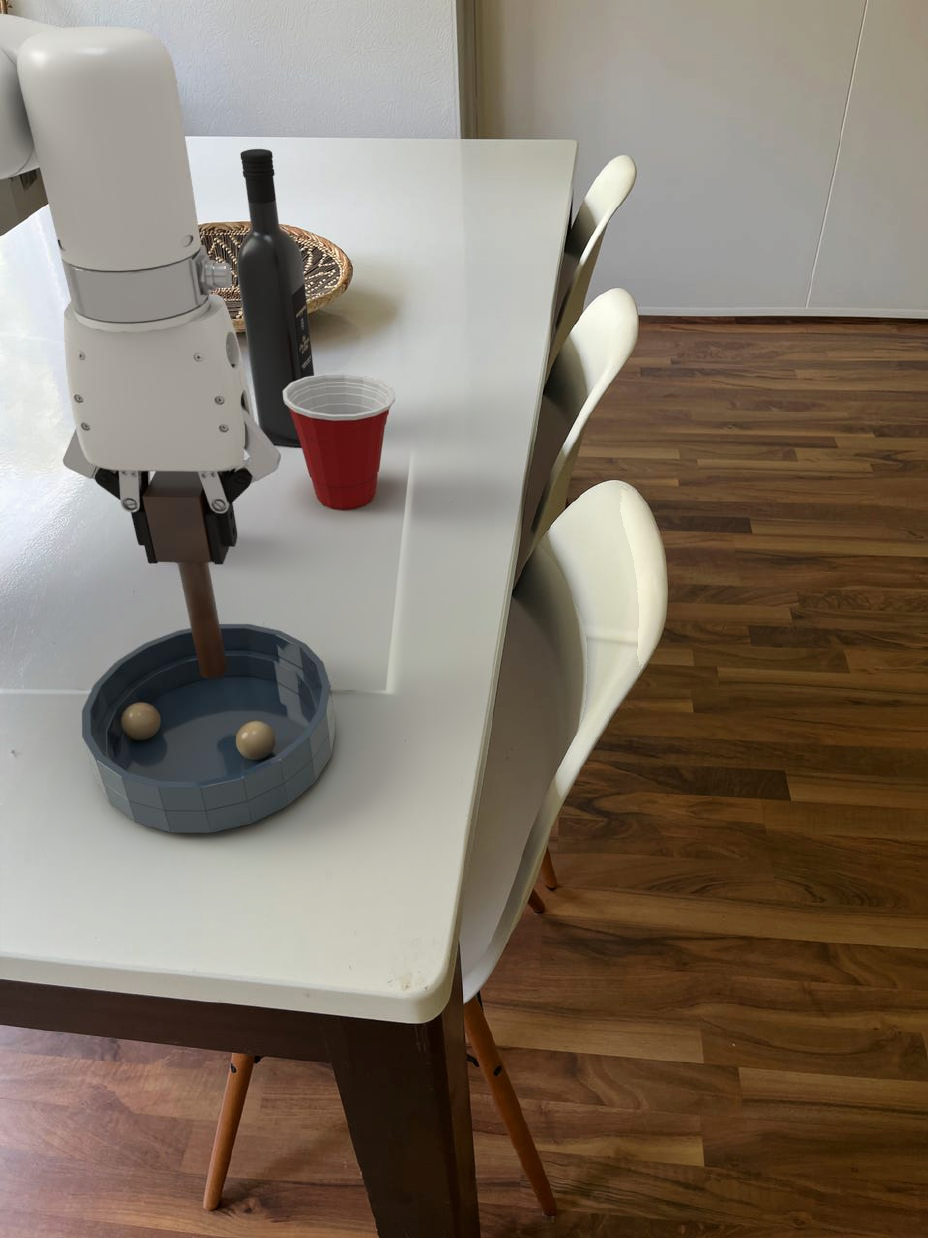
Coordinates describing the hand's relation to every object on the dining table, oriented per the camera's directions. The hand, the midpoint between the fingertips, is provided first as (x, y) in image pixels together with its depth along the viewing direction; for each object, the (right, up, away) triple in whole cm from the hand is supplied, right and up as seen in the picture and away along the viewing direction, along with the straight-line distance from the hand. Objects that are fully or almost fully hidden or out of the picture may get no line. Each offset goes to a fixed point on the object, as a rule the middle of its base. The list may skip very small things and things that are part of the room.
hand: (190, 550), depth 67 cm
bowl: (0, -14, +7) cm, 16 cm away
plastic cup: (+7, +8, +35) cm, 36 cm away
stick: (0, -8, +7) cm, 11 cm away
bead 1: (-5, -12, +6) cm, 14 cm away
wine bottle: (-1, +16, +46) cm, 49 cm away
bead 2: (+4, -13, +4) cm, 15 cm away
